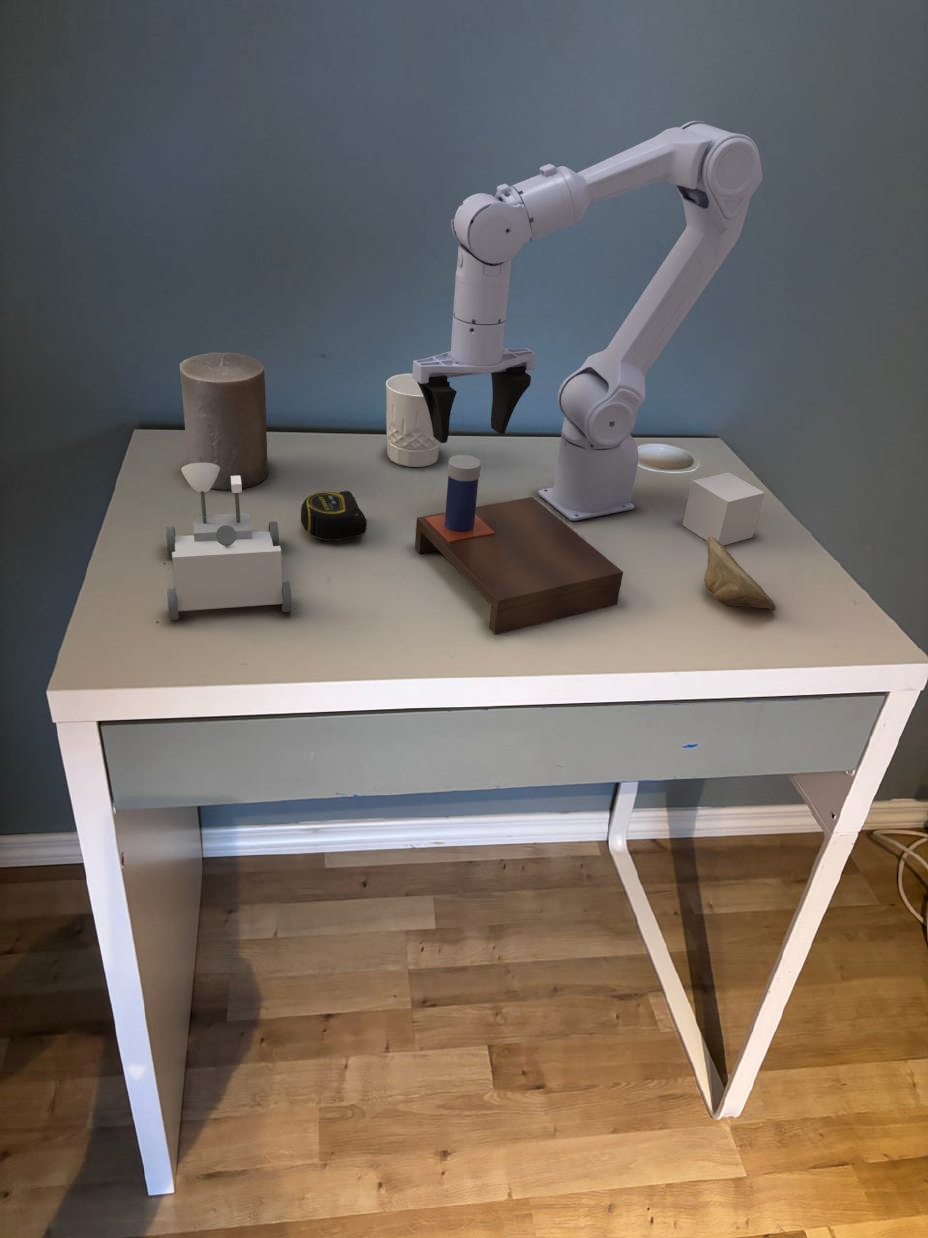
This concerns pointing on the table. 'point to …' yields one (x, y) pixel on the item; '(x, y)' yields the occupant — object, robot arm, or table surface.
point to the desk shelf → (524, 563)
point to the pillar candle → (226, 415)
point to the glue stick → (462, 492)
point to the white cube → (723, 508)
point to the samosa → (732, 580)
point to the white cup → (409, 424)
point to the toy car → (224, 556)
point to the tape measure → (332, 516)
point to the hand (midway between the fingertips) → (469, 435)
